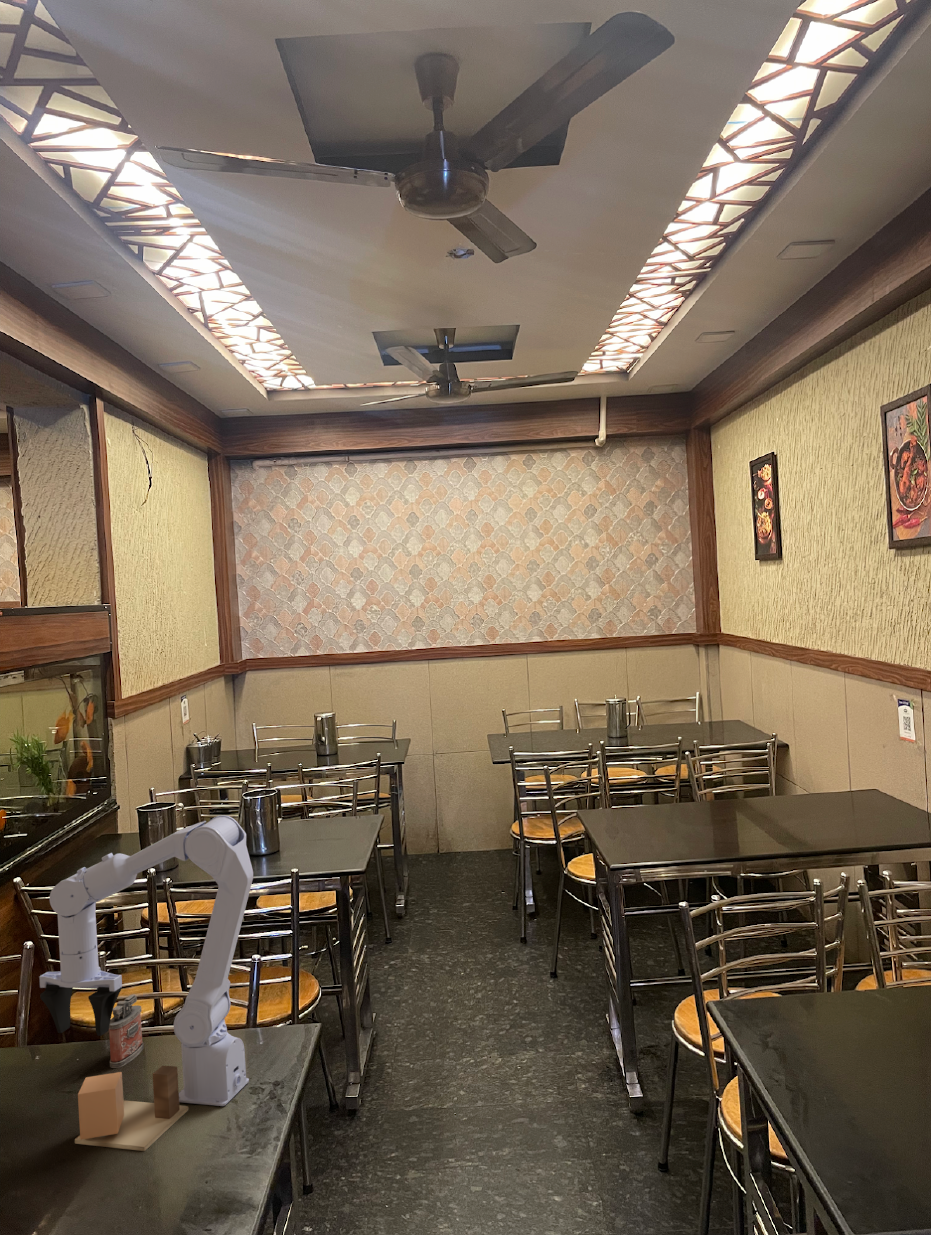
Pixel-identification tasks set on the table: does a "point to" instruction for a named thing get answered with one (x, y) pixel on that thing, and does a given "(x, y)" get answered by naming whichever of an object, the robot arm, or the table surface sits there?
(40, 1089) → the table surface
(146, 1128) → the board
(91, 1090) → the tan rectangular block
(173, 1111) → the post
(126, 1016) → the lighter
